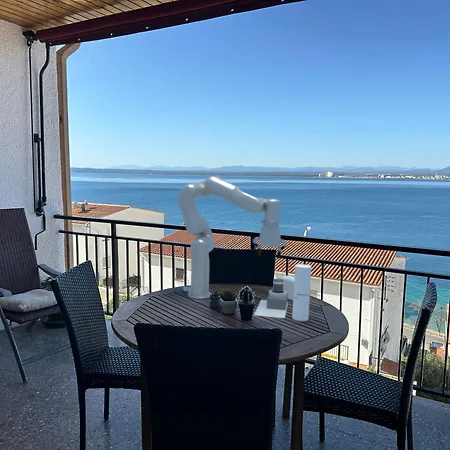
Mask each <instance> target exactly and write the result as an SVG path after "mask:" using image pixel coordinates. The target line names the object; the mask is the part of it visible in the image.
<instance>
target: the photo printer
mask: <svg viewBox="0 0 450 450" xmlns="http://www.w3.org/2000/svg"><path fill="white" fill-rule="evenodd" d="M294 277H295V276H291V275H284V276H282V278H281V279H283V280H284V283H283V290H285V291H286V292H287V293H288V300H291V301H293V296H294Z"/></svg>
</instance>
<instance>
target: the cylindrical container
mask: <svg viewBox="0 0 450 450" xmlns="http://www.w3.org/2000/svg"><path fill="white" fill-rule="evenodd" d="M293 277H294V296H293V300H292V301H293V302H292V317H291V318H292V320H294V321H297V322H307V321H308V320H309V313H310V295H311V277H312V266H311V265H309V264H302V263H300V264H295V265H294V276H293Z"/></svg>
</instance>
